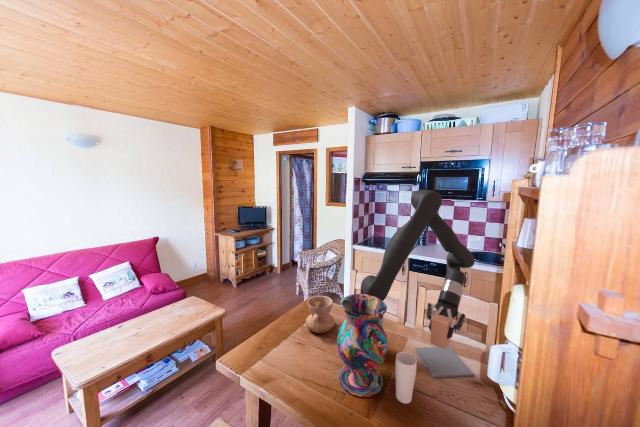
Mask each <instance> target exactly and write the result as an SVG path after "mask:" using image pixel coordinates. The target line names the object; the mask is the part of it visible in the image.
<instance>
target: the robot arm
mask: <svg viewBox="0 0 640 427" xmlns="http://www.w3.org/2000/svg"><path fill="white" fill-rule="evenodd" d="M442 202H443V198H442V196H441V194H440V192H438V191H435V190H430V189H429V190H428V189H417V190H416V191H414V192H413V194H412V195H411V197H410V203H411V207H413V208H414V212H413V214H412V216H411V217H410V218H409V220H408V221H407V222H405V223H404V224H403V225H402V226H401V227H399V229H397V230H396V232H395V233H394V234H393V235H392V237H391V239H390V240H389V242H388V243H387V244H386V245H387V246H386V247H385V249H384V253H383V257H382V262H381V266H380V269H379V271H378V272H377V274H376V275H372V274H371V275H367V276H365V277H364V278H363V279H362V280H361V284H360V294H366V295H371V296H374V297H377V298H379V299H381V300H382V301H383V302H384V300H386V298H387V297H388V295H389V293H390V291H391V288H392V286H393V284H394V282H395V279H396V278H397V276H398V274H399V272H400V271H401V269H402V267H403V266H404V264H405V262H406V261H407V259H408V257H409V256H410V254H411V252H413V249H414V247H415V245H416V244H417V242H418V240H419V239H420V237H421V236H422V234H423V232H424V231H425V229H426V228H427V227H428V226H429V228H430V229H431V231H432V232H433V234H434V235H435V237H436V238H437V241H438V242H439V244H440V245H441V247H442V249H443V250H444V251H445V252H447V253H448V254H447V256H446V257H445V258H446V259H445V260H446V274H445V277H444V281H443V283H442V286H441V288H440V292H439V296H438V299H437V302H436V303H435V304H434V303H433V304H432V303H430V302H427V306H426V307H427V309H426V318H427V319H428V320H429V321H430V322H429V325H428V329H429V332H430V333H431V324H432V318H433V317H434V316H435V315H439V314H440V315H443V316H446V317H448V318H449V319H451V322H450V327H449V330H448V334H447V338H448V339H450V340H451V338H453V334H454V331H455V330H457V331H461V328H462V327H463V325H464V323H465V321H466V319H467V317H466V314H465V313H461V312H459V307H460V303H461V299H462V295H463V290H464V289H463V287H464V284H465V280H466V274H465V273H464V271H462V270H459V268H461V269H469V268H472V267H474V265H475V263H476V262H475V257H474V254H473V253H472V252H471V251H470V249H469V248H467V247H466V246H465V245H464V244H463V243H462V242H461V241H460V240H459V238H458V236H457V234H456V233H455V231H454V230H453V229H452V228H451V226H450V224H448V223H447V222H446V221H445V220H444V219H443V218H442V217H441V215H440V214H439V213H438V212H439V210H440V209H441V207H442V204H443V203H442ZM434 309H435V310H436V311H435V312H434V314H433V313H432V312H433V310H434ZM432 314H433V315H432ZM457 316H458V319H457V320H458V321H457V322H456V324H454V318H456V317H457ZM379 321H380V323H381V325H382V327H383V328H384V315H382V316H381V317H380V320H379Z"/></svg>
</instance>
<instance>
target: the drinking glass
mask: <svg viewBox="0 0 640 427" xmlns="http://www.w3.org/2000/svg"><path fill="white" fill-rule="evenodd" d="M417 363H418V360H417V358H416V356H414V355H413V354H412V353H409V352H406V351H400V352H398V353H396V355H395V363H394V364H395V365H394V368H395V369H394V371H395V372H394V374H395V398H396V400H397V401H398V402H400V403H401V404H404V405H406V404H407V405H408V404H410V403H411V402H412V400H413V393H414V387H415V382H416V376H417V367H418V366H417Z"/></svg>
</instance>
